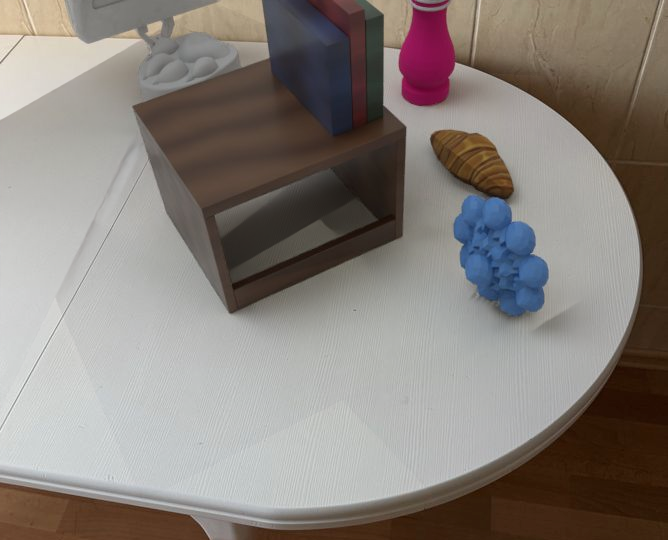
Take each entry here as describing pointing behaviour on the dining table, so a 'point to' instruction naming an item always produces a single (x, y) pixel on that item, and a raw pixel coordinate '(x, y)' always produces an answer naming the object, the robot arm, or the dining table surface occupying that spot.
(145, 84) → the lumpy-topped squat cylinder
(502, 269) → the grapes
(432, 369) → the dining table surface
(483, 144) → the croissant
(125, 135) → the dining table surface
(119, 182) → the dining table surface
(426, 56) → the pepper mill
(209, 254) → the bookshelf
